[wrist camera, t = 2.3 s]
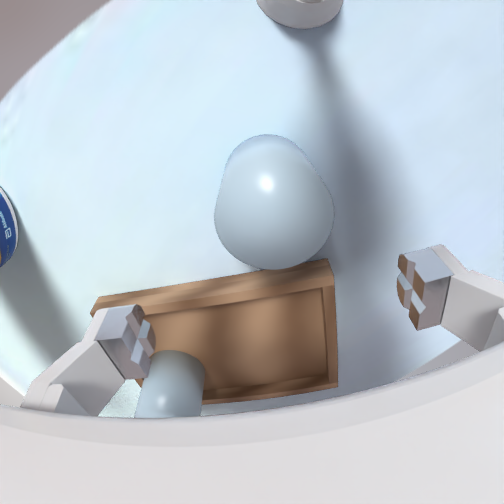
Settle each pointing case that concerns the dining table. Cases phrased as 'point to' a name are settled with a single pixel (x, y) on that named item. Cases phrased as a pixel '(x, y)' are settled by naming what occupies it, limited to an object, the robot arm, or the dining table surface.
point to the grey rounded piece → (272, 204)
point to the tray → (248, 330)
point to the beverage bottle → (7, 229)
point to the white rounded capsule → (172, 386)
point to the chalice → (301, 12)
